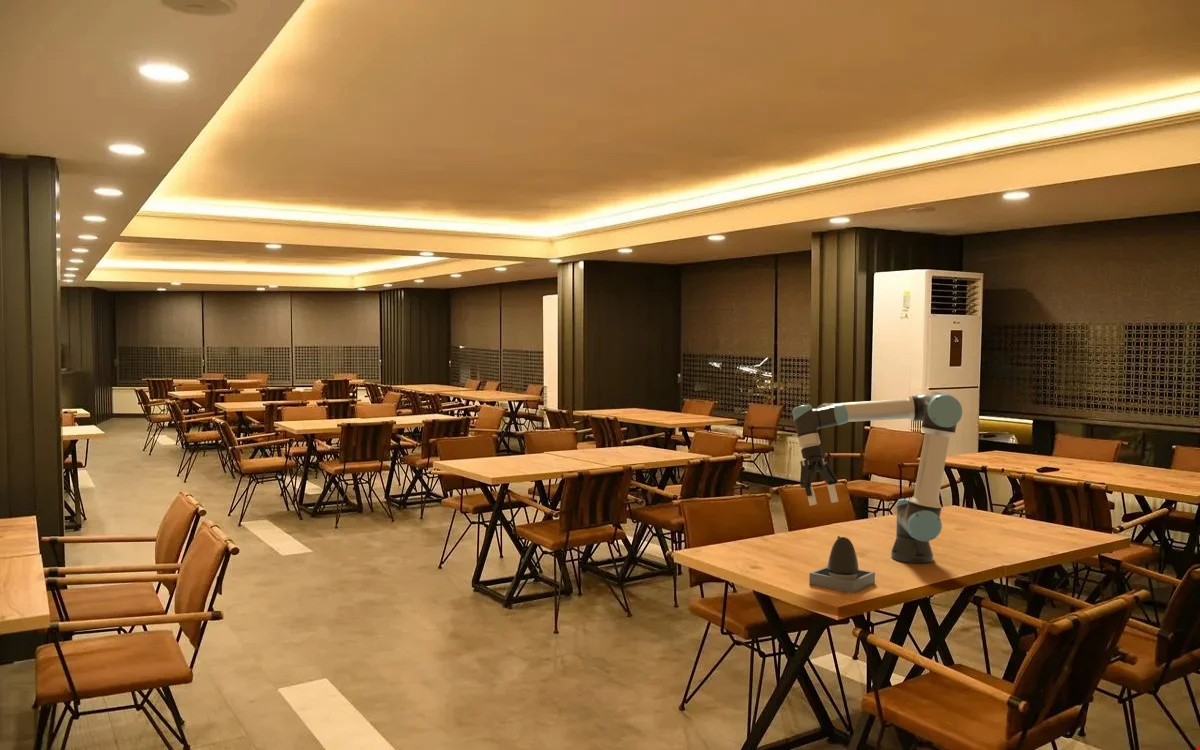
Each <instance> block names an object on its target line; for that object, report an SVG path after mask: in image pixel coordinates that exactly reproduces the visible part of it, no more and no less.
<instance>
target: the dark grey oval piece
mask: <svg viewBox="0 0 1200 750" xmlns="http://www.w3.org/2000/svg"><path fill="white" fill-rule="evenodd" d="M827 566H828V571H829V575H830V576H832V577H837V578H842V579H847V580H855V579H856V577H857V574H858V572H859V570H860V569H859V562H858V557H857V553H856V550H855V546H854V544H853V543H852V541H851V540H850V538H848V537H846V536H837V539H835V541H834V543H833V545H832V547H831V550H830V553H829V557H828V562H827Z"/></svg>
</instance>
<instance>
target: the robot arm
mask: <svg viewBox="0 0 1200 750" xmlns="http://www.w3.org/2000/svg"><path fill="white" fill-rule="evenodd" d="M962 407H963V406H962V404H961V402H960V401H959V400H958V399H957V398H956V397H954V396H953V395H951V394H948V393H943V392H942V393H941V392H929V393H924V394H919V395H909V396H908V397H907V398H899V399H897V398H896V399H883V400H869V401H868V400H867V401H866V400H864V401H850V402H834V403H832V402H831V403H829V402H824V403H822V404H820V405H818V407H817V408H813V407H812V405H811V404H803V405H799V406H796V407H794V408H793V409H792V411H791V412H792V418H793V423H794V427H795V430H796V435H797V439H798V443H799V447H800V448H801V450H800V454H801V456H802V460H800V481H799V485H800V487H801V488H803V489H805V493H806V496H807V500H808V504H809V507H810V506H811V507H812V506H814V505H818V503H817V499H816V494H815V490H814V486H812V482H813V479H814V474H815V473H816V472H817V473H819V474H820V475H821V477H822V478H823V479H824V480H825V482H826V483H827V484H828V485H827V490H828V491H827V492H828V493H829V494H828V495H829V498H830V503H832V504H833V503H838V502H839V498H838V494H837V489H836V484H838V481H839V479H838V478H837V476H836V474H835V472H834V470H833V469H832V467H831V465H830V463H829V459H828V458H826V457H825V458H822V456H823V455H824V453H823V448H822V445H820V444H821V440H820V435H819V431H818V430H820V429H823V428H829V427H833V426H834V427H835V426H842V425H844V424H847V423H849V422H850V423H851V422H868V421H869V422H870V421H887V420H888V421H889V420H890V421H891V420H906V419H909V420H910V421H911V422H917V421H918V422H921V429H922V430H923V432H924V436H923V442H922V448H921V452H920V458H919V463H918V470H917V476H916V481H915V485H914V493H913V496H912V497H910V498H900V499H898V500H897V501H896V529H895V530H896V532H895V534H896V535H895V537H896V538H895V540H894V543H893V546H892V548H891V553H890V555H891V559H893V560H896V561H899V562H903V563H911V564H928V563H932V562H933V561H934V553H933V549H932V546H931V544H930V541H933V540H935V539H936V538H937V537H938V536H939V535H940V534H941V532H942V528H943V524H942V519H941V512H942V508H943V507H942V506H943V505H941V503H940V502H939V499H940V493H941V489H942V488H941V487H942V482H943V477H944V471H945V465H946V459H947V456H948V455H947V453H948V448H949V444H950V437H952V436H953V435H954V434H956V428H957V425H958V424H959V422H960V420H961V419H962V416H963V408H962Z"/></svg>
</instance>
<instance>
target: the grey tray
mask: <svg viewBox="0 0 1200 750" xmlns="http://www.w3.org/2000/svg"><path fill="white" fill-rule="evenodd" d="M808 576H809V585H810V586H815V587H818V586H819V588H823V587H824V588H823V589H828V588H829V589H828V590H833V589H834V591H838V590H839V592H843V591H844V592H843V593H847V592H849V593H848V594H852V593H854V594H857V593H859V592H860V590H861V591H863V590H864V589H867V588H869V587H871V585H872V586H873V584H874V585H875V584H876V583H875V582H876V572H875V571H870V570H864V569H859V572H858V574H857V577H856V579H855V580H847V579H842V578H837V577H832V576H830V575H829V571H828V565H826V566H824V567H821V568H819V569H815V570H814V571H811V572H809V575H808ZM858 591H859V592H858Z"/></svg>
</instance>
